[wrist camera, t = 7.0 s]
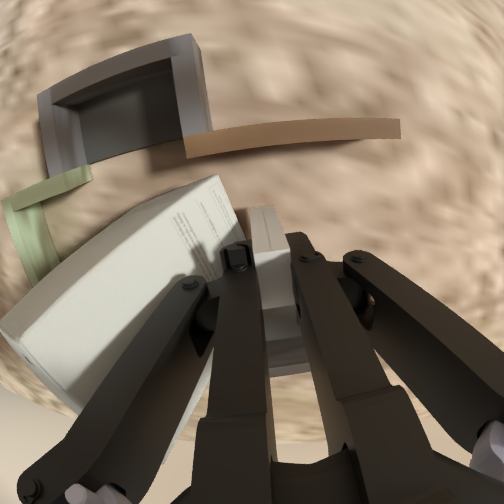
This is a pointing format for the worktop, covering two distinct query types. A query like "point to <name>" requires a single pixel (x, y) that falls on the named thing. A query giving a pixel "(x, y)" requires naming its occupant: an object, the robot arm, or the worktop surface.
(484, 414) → the robot arm
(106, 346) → the supplement box
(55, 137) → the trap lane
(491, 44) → the worktop surface
